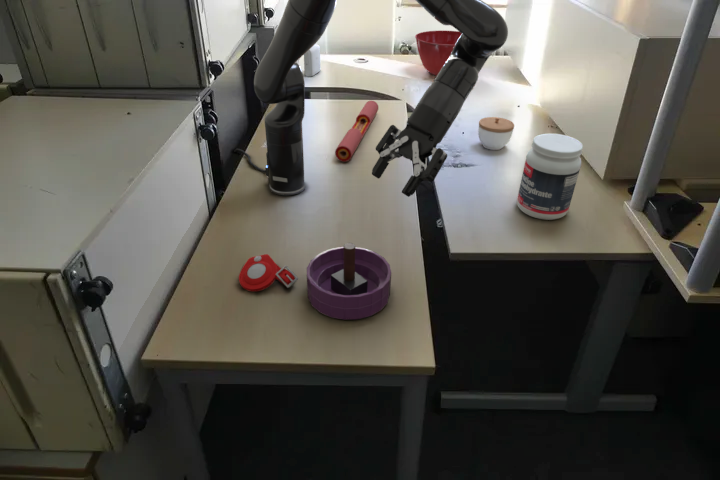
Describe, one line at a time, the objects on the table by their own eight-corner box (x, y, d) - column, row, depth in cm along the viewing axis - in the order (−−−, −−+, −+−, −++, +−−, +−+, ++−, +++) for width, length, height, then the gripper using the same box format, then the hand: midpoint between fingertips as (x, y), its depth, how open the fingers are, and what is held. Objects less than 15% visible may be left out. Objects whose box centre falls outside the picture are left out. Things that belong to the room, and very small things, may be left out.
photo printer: (312, 77, 227) (311, 47, 220) (303, 76, 228) (302, 46, 221) (321, 71, 235) (321, 42, 228) (313, 69, 236) (312, 41, 229)
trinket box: (510, 142, 172) (515, 114, 167) (509, 155, 163) (514, 126, 158) (477, 137, 174) (481, 110, 169) (474, 150, 165) (478, 121, 160)
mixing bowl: (401, 67, 242) (403, 32, 234) (453, 61, 253) (457, 27, 244) (433, 85, 221) (437, 46, 213) (489, 77, 231) (495, 41, 223)
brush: (330, 288, 106) (330, 243, 99) (347, 280, 108) (348, 235, 102) (350, 304, 102) (350, 257, 96) (367, 294, 104) (368, 248, 98)
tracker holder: (235, 291, 103) (237, 253, 110) (243, 304, 107) (244, 266, 113) (295, 278, 103) (293, 240, 109) (301, 291, 106) (299, 254, 113)
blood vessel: (364, 113, 191) (365, 99, 189) (378, 114, 190) (378, 101, 188) (335, 160, 157) (334, 145, 154) (351, 162, 156) (351, 147, 153)
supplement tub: (506, 208, 135) (519, 141, 125) (532, 192, 143) (546, 127, 133) (552, 228, 128) (570, 158, 118) (577, 210, 135) (596, 142, 125)
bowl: (291, 290, 106) (290, 266, 102) (353, 260, 115) (353, 237, 111) (342, 334, 96) (343, 309, 92) (406, 297, 105) (408, 273, 101)
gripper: (400, 91, 101) (355, 164, 103) (456, 115, 93) (406, 194, 94) (418, 109, 107) (375, 177, 109) (472, 133, 99) (425, 207, 100)
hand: (389, 185), depth 101 cm, fingers open, 8 cm apart
